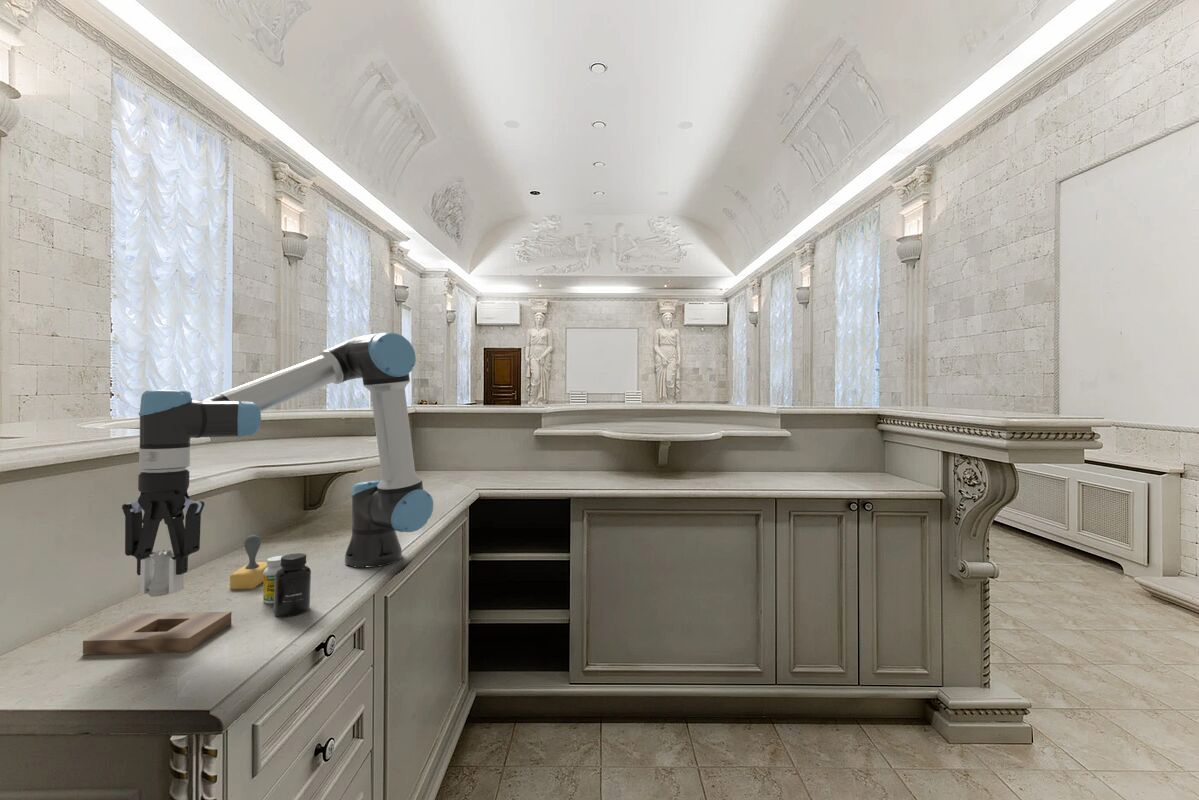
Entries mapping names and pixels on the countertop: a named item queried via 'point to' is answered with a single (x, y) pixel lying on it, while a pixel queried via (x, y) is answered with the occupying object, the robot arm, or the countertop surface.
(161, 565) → the rook chess piece
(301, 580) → the supplement bottle
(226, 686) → the countertop surface
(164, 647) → the walnut socket board
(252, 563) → the rubber stamp
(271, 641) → the countertop surface
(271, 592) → the supplement bottle
